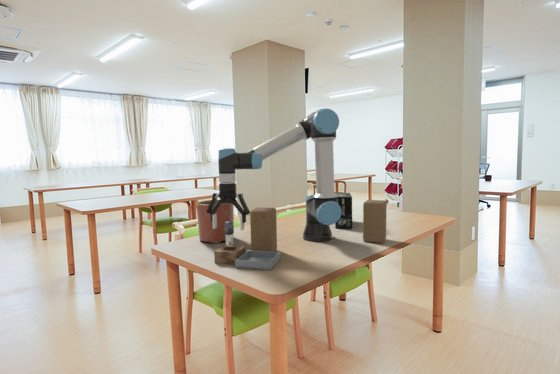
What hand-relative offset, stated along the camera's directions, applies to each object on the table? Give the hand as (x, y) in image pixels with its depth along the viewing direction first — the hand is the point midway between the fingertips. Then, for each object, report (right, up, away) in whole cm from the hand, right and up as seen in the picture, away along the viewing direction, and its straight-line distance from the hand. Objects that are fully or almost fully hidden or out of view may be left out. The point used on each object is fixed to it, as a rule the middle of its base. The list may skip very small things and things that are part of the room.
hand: (228, 229), depth 152 cm
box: (+63, -4, +54) cm, 83 cm away
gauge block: (+3, -12, -11) cm, 16 cm away
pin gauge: (0, -11, +1) cm, 11 cm away
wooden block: (+16, -11, -1) cm, 20 cm away
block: (+71, -8, +16) cm, 74 cm away
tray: (+15, -12, -15) cm, 24 cm away
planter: (-10, -9, +24) cm, 28 cm away
